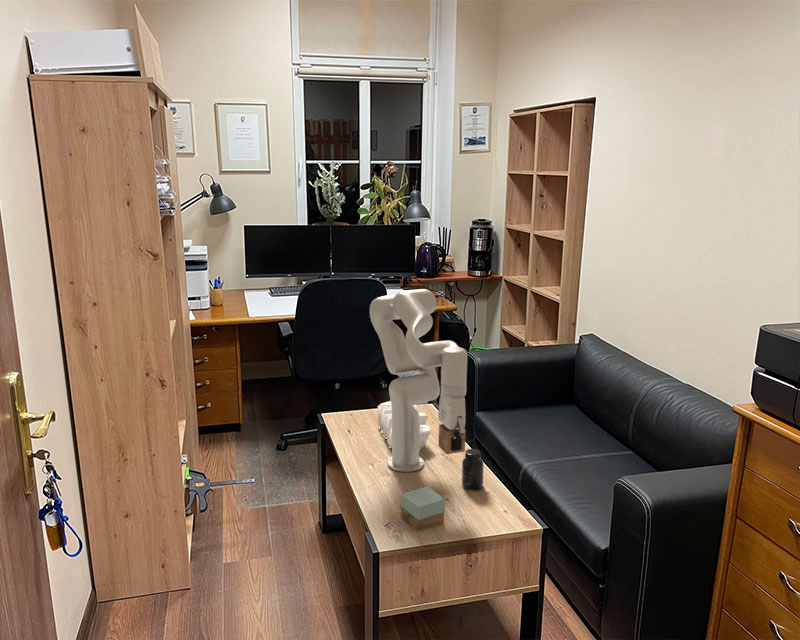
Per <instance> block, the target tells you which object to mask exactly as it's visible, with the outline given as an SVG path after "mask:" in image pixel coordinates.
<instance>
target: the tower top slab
mask: <svg viewBox="0 0 800 640" xmlns="http://www.w3.org/2000/svg"><path fill="white" fill-rule="evenodd" d="M401 506H402V507H403V508H404V509H405V510H406V511H408V512H409V513H410V514H411V515H413V516H414V517H415V518H416V519H418V520H421V519H424V518H427V517H430V516H433V515H436V514H439V513H443V512H444V513H445V511H446V509H445V508H446V498H444V497H443V496H441V495H440V494H439V493H437V492H436V491H435V490H433V489H432V488H430V487H429V486H425V487H421V488H417V489H414V490H411V491H408V492H404V493H401Z"/></svg>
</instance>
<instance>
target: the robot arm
mask: <svg viewBox="0 0 800 640" xmlns="http://www.w3.org/2000/svg"><path fill="white" fill-rule="evenodd" d="M436 307H437V299H436V296H435V294H434V293H433V292H432V291H431V290H429V289H427V288H419V289H409V290H401V291H399V292H397V293H396V294H389V295H383V296H378V297H376V298H374V299H373V300H372V301H371V303H370V305H369V319H370V322H371V324H372V326H373V328H374V330H375V332H376V334H377V335H378V338H379V341H380V345H381V348H382V353H383V357H384V360H385V364H386V367H387V370H388V372H389V373H390V374H392V375H405V374H411V373H417V374H415V375H413V374H412V375H407V376H401V377H397V378H395V379H393V380H391V382H390V383H389V386H388V393H389V399H390V401H391V406H392V449H391V457H389V458H388V459H387V466H388V467H389V468H390V469H391V470H394V471H397V472H400V473H411V472H416V471H418V470H420V469H422V468H423V467H424V466H425V465H424V464H425V461H424V459H423V458H422V457H421V456H420V450H421V449H420V416H419V413H420V412H419V411H418V410H417V409H415V408H414V407H413V405H416V404H419V403H425V402H426V403H427V402H430V401H431V402H432V401H434V400H436V399H438V397H439V401H438V403H439V404H438V414H437V415H438V417H437V418H438V421H439V422H440V423H441V424H444V425H445V426H446V427H447V428H448V429H449V430H452V436H453V438H451V450H452V451H457V450H461V449H462V438H463V434H464V433H465V430H466V429H465V427H466V398H465V397H466V395H467V380H468V379H467V376H468V374H467V373H468V351H467V349H465V348H463V347H460V346H459V345H458V344H457V342H455V341H453V340H449V339H448V340H439V341H430V342H425V343H424V342H421V341H420V338H421V337H422V336H425V335H426V334H427V333H428V332H429V331H430V330H431V329H432V326H433V324H434V319H433V317H432V315H431V314H432V313H434V311H436ZM393 320H401V321H402V323H403V325H404V326H405V327H406V329H407V331H406V332H405V335H404V332H403V330H402V329H401V328H400V327H399V325H397V324H396V323H394V321H393ZM438 367H440V381H439V377H438V374H437V371H436V368H438ZM456 426H458V428H455V427H456ZM455 430H459V431H458V432H457V433H456V434H455ZM465 434H466V433H465Z"/></svg>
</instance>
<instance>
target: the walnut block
mask: <svg viewBox="0 0 800 640" xmlns="http://www.w3.org/2000/svg"><path fill="white" fill-rule="evenodd" d="M455 428H458V426H456V427H455ZM458 431H459V430H455V434H456V433H457V432H458ZM466 431H467V430H466V429H465V433H464V434H463V438H462V449H461V450H457V451H452V450H451V438H453V436H452V430H449V429H448V428H447V427H446V426H445V425H444V424H442V423H441V424H438V447H439V448H440V449H441V450H442V451H443V452H444V454H446V455H450V454H451V455H452V454H458V453H465V452H466V433H467V432H466Z"/></svg>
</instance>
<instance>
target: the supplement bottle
mask: <svg viewBox="0 0 800 640" xmlns="http://www.w3.org/2000/svg"><path fill="white" fill-rule="evenodd" d="M464 453H465V454H464V458H463V459H462V461H461V465H462V466H461V486H462V487H463V488H464V489H466V490H468V491H478V490H481V489H482V488H483V486H484V460H483V459H482V458H481V457H482V456H481V451H480V450H479V449H476V448H468V449H465V452H464Z"/></svg>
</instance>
